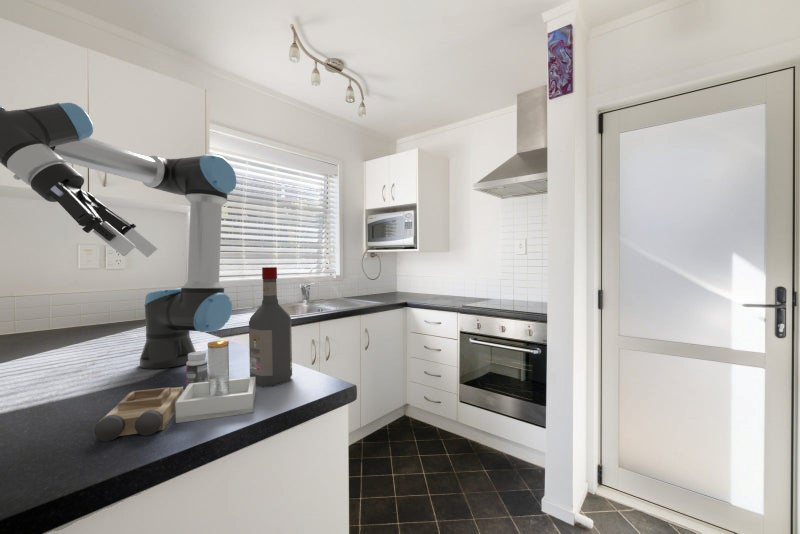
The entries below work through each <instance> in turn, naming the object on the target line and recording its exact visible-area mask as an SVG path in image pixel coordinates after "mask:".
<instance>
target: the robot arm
mask: <svg viewBox="0 0 800 534" xmlns="http://www.w3.org/2000/svg"><path fill="white" fill-rule="evenodd" d="M93 134H94V124H93V122H92V120H91V118H90V116H89V114H88V113H87V112H86V111H85V110H84V109H83V108H82V107H81V106H79V105H78V104H75V103H73V102H63V103H62V102H61V103H60V102H56V103H52V104H47V105H42V106H35V107H31V108H30V107H29V108H24V109H13V110H12V109H11V110H6V109H5V107H3V106H2V105H0V164H1V165H3V166H4V167H5V168H6V169H8V170H9V171H10V172H12V173H13V174H14V175H13V176H12V177H13V179H14V180H17V181H19V180H21V181H22V182H23V183H25V184H26V185H28V186H29V187H31V189H32V190H33V191H34V192H36V193H37V194H38V195H39V196H41V198H43V199H44V200H45V201H47V202H50V203H58V204H59V205H60V206H61V207H62V208H63V209H64V210H65V211H66V212H67V214H68V215H70V217H72V219H73V220H74V221H75V222H76V223H77V224H78V225H79V226H81V227H82V228H81V229H82V231H83V232H85V233H86V234H89V233H90V232H93V233H94V234H95V235H96V236H97V237H99V238H100V239H101V240H103V242H105V243H106V244H107V245H109V246H110V247H111V248H112V249H114V250H115V251H116V252H117V253H118V254H120V255H121V256H122V257H126V255H128V254H129V253H131V251H133V250H134V249H136V250H138V251H139V252H140V253H141V254H142V255H143V256H145V257H146V258H149V257H150V256H152V255H153V254H154V253H155V252H156V251H157V250H158V248H157V247H156V245H154V244H153V243H151V242H150V241H149V240H148V239H147V238H145V236H143V235H142V234H141V233H140V232H138V231H137V230H136V227H137V225H136V224H134V223H130V222H128V221H127V220H125V219H124V218H123V217H122V216H120V215H119V214H118V213H116V212H115V211H114V210H112V209H110V208H109V207H108V206H107V205H105V204H104V203H103V202H101V201H100V200H99V199H98V198H96V196H95V195H93V194H92V193H90V192H89V191H84V190H83V189H82V187H83V185H84V183H85V178H84V176H83V175H82V174H80V173H79V172H78V171H77V170H76V169H74V168H73V167H72V166H71V165H70V164H72V165H76V166H79V167H84V168H87V169H90V170H94V171H98V172H103V173H107V174H110V175H114V176H119V177H122V178H126V179H130V180H133V181H136V182H137V181H138V182H142V184H143V185H144V186H145V187H147V188H152V189H155V190H159V191H162V192H166V193H170V194H174V195H179V196H184V198H185V199H186V200H187V201H188V202H189V204H190V209H189V211H190V212H189V230H188V232H189V233H188V258H187V259H188V260H187V262H188V263H187V281H186V282H185V283H184V284H183V285H182V286H181V288H171V289H163V290H155V291H154V290H153V291H150V292H148V293H147V294H146V295H145V302H144V311H145V312H144V313H145V314H144V315H145V343H144V346H143V348H142V351H141V353H140V357H139V367H140V368H142V369H146V370H152V369H153V370H154V369H155V370H157V369H167V368H168V369H169V368H173V367H180V366H183V365H184V366H185V365H186V363H187V361H189V360H188V354H189V353H192V352H197V351H196V348H195V346H194V344H193V341H192V339H191V335H190V332H200V333H206V332H207V333H208V332H216V331H218V330H221V329H222V328H223V327H224V326H225V325H226V324H227V323H228V322H229V320H230V318H231V315H232V312H233V302H232V300H231V298H230V297H229V296H228V295H227V294H226V293H225V286H224V285H223V284H222V283H221V282H220V271H221V270H220V265H221V240H222V239H221V238H222V237H221V236H222V235H221V234H222V213H223V212H222V210H223V209H222V208H223V205H225V204H226V203H228V194H230V193H232V192H234V189H235V188H236V186H237V175H236V173H235V170H234V168H233V166H232V164H231V163H230V162H229V161H228V160H227V159H226V158H224V157H223V156H221V155H218V154H203V155H198V156H190V157H183V158H182V157H180V158H163V157H161V156H157V155H150V156H145V155H143V154H139V153H137V152H133V151H130V150H128V149H125V148H122V147H118V146H115V145H113V144H109V143H106V142H103V141H100V140H97V139H94V138H91V136H92V135H93Z"/></svg>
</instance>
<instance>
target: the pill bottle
mask: <svg viewBox="0 0 800 534" xmlns="http://www.w3.org/2000/svg"><path fill="white" fill-rule="evenodd" d="M206 357H207V353H206V351H202V350H200V351H199V350H198V351H196V352H192V353H189V354H188V360H189V361H187V363H186V364H185V369H186V370H185V373H186V375H185V376H186V378H185V379H186V383H185V384H186V387H187V386H188V384H190V383H200V382H209V376H208V358H206Z"/></svg>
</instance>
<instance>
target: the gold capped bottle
mask: <svg viewBox="0 0 800 534" xmlns="http://www.w3.org/2000/svg"><path fill="white" fill-rule="evenodd" d="M229 344H230V343H229V340H213V341H209V342H207V377H208V382H209V397H214V396H223V395H229V379H230V359H229V357H230V356H229V355H230V351H229Z"/></svg>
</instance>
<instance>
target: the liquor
mask: <svg viewBox="0 0 800 534" xmlns="http://www.w3.org/2000/svg"><path fill="white" fill-rule="evenodd" d="M261 273H262V274H261V276H262V277H261V278H262V301H261V305H260V306H259V307H258V308H257V310H255V311H254V312H253V314H251V317H250V319H249V322H248V338H249V339H248V340H249V341H248V342H249V343H248V344H249V345H248V347H249V348H248V349H249V350H248V351H249V352H248V355H249V377H255V380H256V384H257V385H256V386H258V385H259V387H261V386H262V387H261V388H265V387H264V386H271V387H275V385H276V386H278V384H279V385H282V384H285V383H288V382H290V380H291V378H292V376H293V349H292V348H293V340H292V337H293V335H292V317H291V315H290V314H289V313H288V312H287V310H286V309H284V307H282V305H280V303H279V300H278V289H277V288H278V287H277V286H278V285H277V284H278V283H277V281H278V280H277V279H278V267H277V266H276V267H275V266H273V267H271V266H269V267H268V266H267V267H266V266H265V267H262V268H261ZM287 381H288V382H287ZM284 382H285V383H284ZM281 383H282V384H281Z"/></svg>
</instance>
